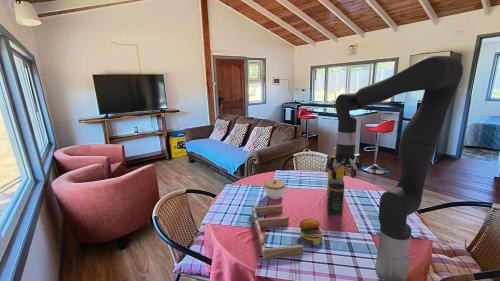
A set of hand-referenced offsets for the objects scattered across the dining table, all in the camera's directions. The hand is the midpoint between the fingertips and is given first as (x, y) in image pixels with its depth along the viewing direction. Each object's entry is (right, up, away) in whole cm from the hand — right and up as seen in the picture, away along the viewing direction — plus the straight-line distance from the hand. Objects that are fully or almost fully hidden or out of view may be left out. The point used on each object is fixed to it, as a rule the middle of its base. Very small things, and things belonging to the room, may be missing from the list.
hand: (343, 178), depth 102 cm
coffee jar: (+5, -22, +26) cm, 35 cm away
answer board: (-29, -27, +9) cm, 41 cm away
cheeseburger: (-13, -28, +5) cm, 31 cm away
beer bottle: (+14, -16, +48) cm, 53 cm away
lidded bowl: (-25, -19, +44) cm, 54 cm away
